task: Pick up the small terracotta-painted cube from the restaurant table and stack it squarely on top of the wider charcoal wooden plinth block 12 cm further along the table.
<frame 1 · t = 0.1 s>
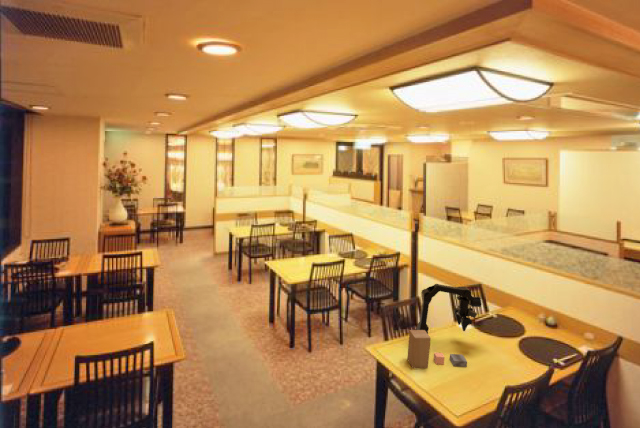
hand: (461, 327, 243), 15 cm above the table, tool pointing down, fingers open, 9 cm apart
charcoal plinth: (457, 363, 227), on the table
wooden block: (417, 363, 225), on the table
terracotta cube: (438, 362, 227), on the table
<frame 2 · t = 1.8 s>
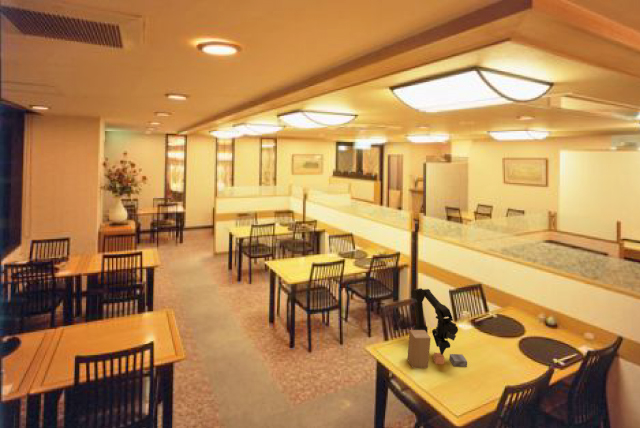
hand: (439, 350, 226), 8 cm above the table, tool pointing down, fingers open, 9 cm apart
nothing on the table moved.
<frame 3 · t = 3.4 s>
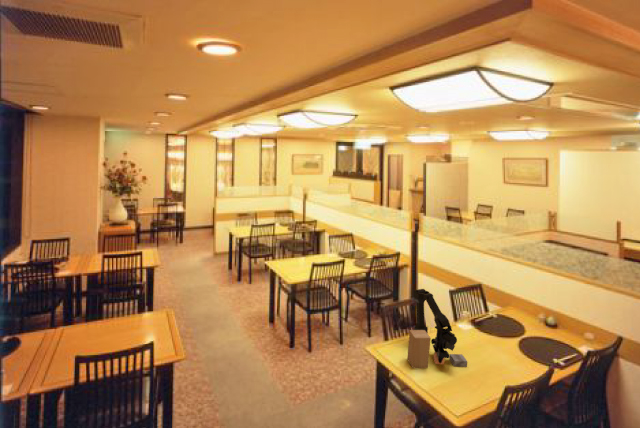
hand: (438, 360, 227), 1 cm above the table, tool pointing down, fingers closed on terracotta cube, 5 cm apart
terracotta cube: (438, 362, 227), on the table, touching gripper
everything else where it was.
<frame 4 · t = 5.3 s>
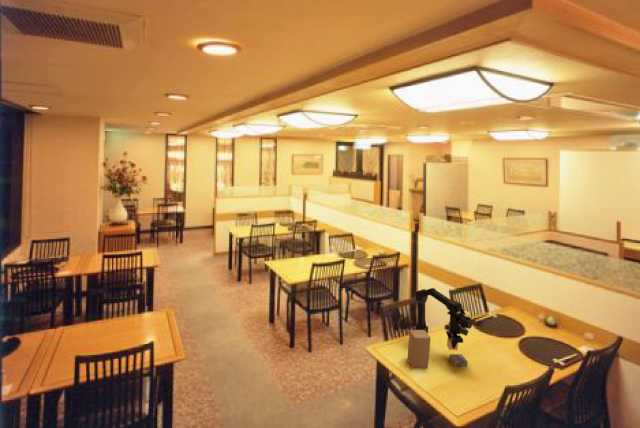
hand: (452, 346, 225), 11 cm above the table, tool pointing down, fingers closed on terracotta cube, 5 cm apart
terracotta cube: (452, 347, 225), point 10 cm above the table, touching gripper
everything else where it was.
when the fingers open (6 cm above the table, at t = 7.2 s): terracotta cube drops 2 cm, point 4 cm above the table.
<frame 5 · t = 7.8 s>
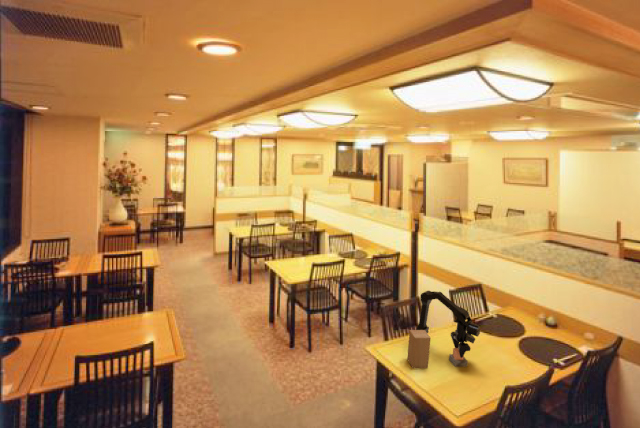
hand: (458, 353, 226), 6 cm above the table, tool pointing down, fingers open, 9 cm apart
terracotta cube: (457, 357, 226), point 4 cm above the table
everything else where it was.
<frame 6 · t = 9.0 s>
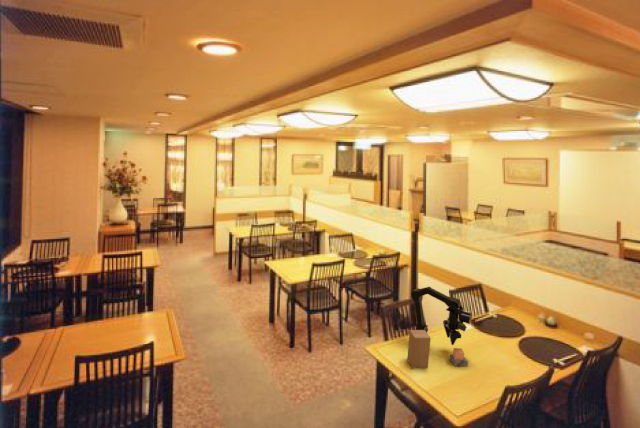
hand: (450, 341, 232), 11 cm above the table, tool pointing down, fingers open, 9 cm apart
charcoal plinth: (458, 363, 227), on the table, touching terracotta cube
terracotta cube: (457, 357, 226), point 4 cm above the table, touching charcoal plinth
everything else where it was.
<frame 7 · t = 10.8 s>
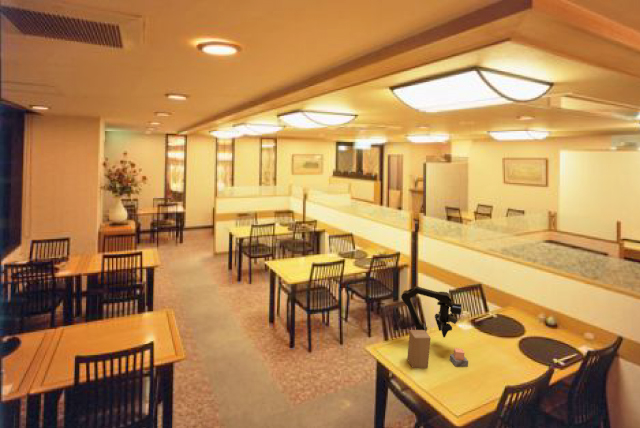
hand: (441, 333, 239), 12 cm above the table, tool pointing down, fingers open, 9 cm apart
nothing on the table moved.
at the end: terracotta cube 0.4 cm off-centre on the charcoal plinth, point 4.0 cm above the charcoal plinth's base; terracotta cube tilted 0°; the gripper is holding nothing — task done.
